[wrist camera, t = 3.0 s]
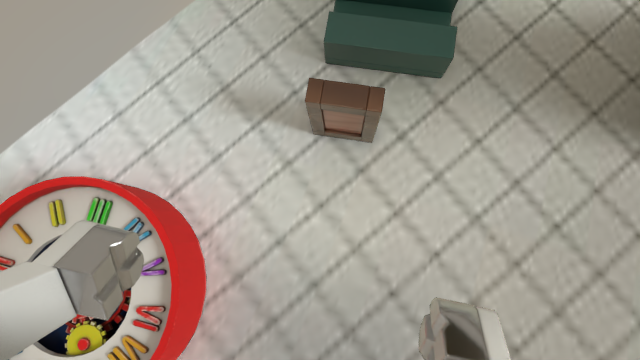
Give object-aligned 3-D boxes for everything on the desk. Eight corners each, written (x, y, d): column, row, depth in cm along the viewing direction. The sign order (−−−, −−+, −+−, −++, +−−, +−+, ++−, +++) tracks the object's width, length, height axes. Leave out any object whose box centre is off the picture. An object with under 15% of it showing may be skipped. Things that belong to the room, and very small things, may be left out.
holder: (441, 78, 37) (453, 58, 33) (325, 63, 38) (323, 41, 34) (452, -8, 39) (465, -37, 35) (340, -20, 40) (340, -50, 36)
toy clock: (134, 461, 28) (-91, 385, 30) (169, 423, 34) (-21, 361, 36) (210, 207, 31) (0, 152, 33) (231, 212, 36) (51, 165, 38)
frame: (372, 143, 37) (381, 112, 28) (313, 134, 37) (304, 101, 28) (375, 124, 37) (385, 87, 28) (316, 115, 37) (309, 77, 29)
